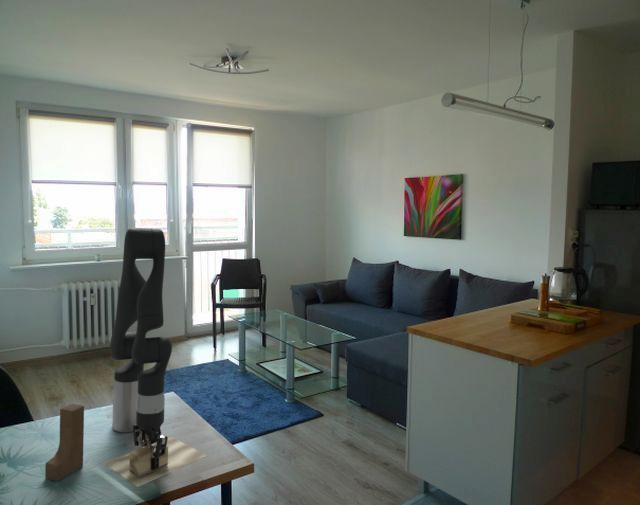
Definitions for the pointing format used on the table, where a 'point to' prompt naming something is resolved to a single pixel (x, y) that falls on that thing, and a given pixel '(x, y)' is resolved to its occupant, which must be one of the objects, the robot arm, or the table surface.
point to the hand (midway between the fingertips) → (148, 465)
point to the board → (176, 459)
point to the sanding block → (145, 461)
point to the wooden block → (68, 444)
